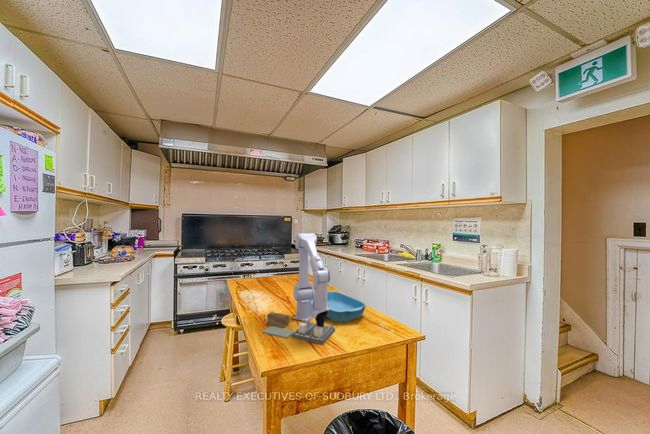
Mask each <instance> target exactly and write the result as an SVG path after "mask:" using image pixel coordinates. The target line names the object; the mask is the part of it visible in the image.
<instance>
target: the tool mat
mask: <svg viewBox="0 0 650 434" xmlns="http://www.w3.org/2000/svg"><path fill="white" fill-rule="evenodd" d="M294 331H295V330H292V329H286V328H282V327H277V326H273V325H269V327H267V328H266V329H264V330H262V332H261V333H262V334H266V335H271V336H275V337H278V338H282V339H289V338H291V334H292V333H293V332H294Z"/></svg>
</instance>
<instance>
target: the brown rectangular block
mask: <svg viewBox="0 0 650 434" xmlns="http://www.w3.org/2000/svg"><path fill="white" fill-rule="evenodd" d="M266 322H267V323H266V324H267V325H268V326H274V327H278V328H283V329H286V328H287V327H289V326H290V315H288V314H283V313H278V312H274V311H271V312H269V313H267V318H266Z"/></svg>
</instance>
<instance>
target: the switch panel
mask: <svg viewBox="0 0 650 434" xmlns="http://www.w3.org/2000/svg"><path fill="white" fill-rule="evenodd" d="M304 323H305V324H307V331H306V332H304V333H298V328H297V329H296V330H293V331H294V332H293V333H292V334H291V336H290V338H292V339H293V338H294V339H297V340H301V341H306V342H310V343H314V344H320V345H324V344H325V343H326V342H327V341H328V339H330V338H331V336H332V335H333V334H334V333H335V332H336V327H334V324H331V325H329V326H328V325H324V326H323V334H322V335H321V336H320V337H316V336H314V328H315V327H316V326H317V323H316V322H315V323H313V322H311V320H310V319H309V320H308V321H305V322H304Z"/></svg>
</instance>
